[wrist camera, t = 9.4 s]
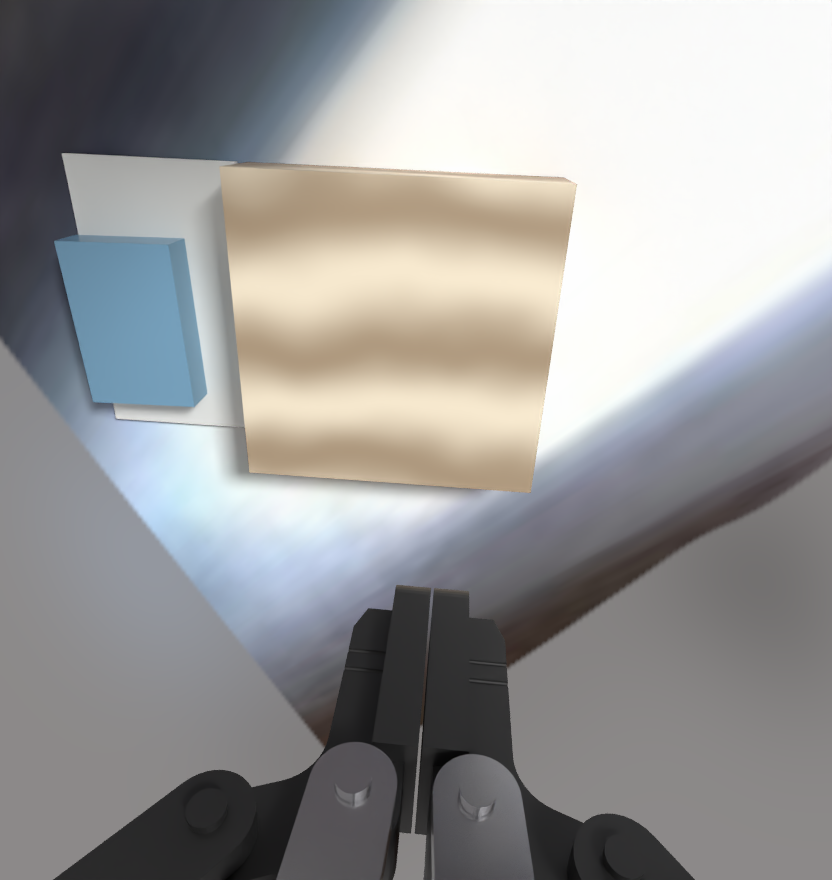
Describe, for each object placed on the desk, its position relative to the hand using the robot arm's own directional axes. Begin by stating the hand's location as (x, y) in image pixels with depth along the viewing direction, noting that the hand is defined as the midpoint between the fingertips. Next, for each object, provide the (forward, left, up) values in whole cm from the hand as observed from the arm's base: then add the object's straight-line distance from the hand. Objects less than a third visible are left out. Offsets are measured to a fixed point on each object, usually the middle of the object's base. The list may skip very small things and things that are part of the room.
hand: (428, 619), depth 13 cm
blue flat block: (+1, -17, -21) cm, 28 cm away
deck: (+1, -3, -24) cm, 24 cm away
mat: (0, -16, -24) cm, 29 cm away
